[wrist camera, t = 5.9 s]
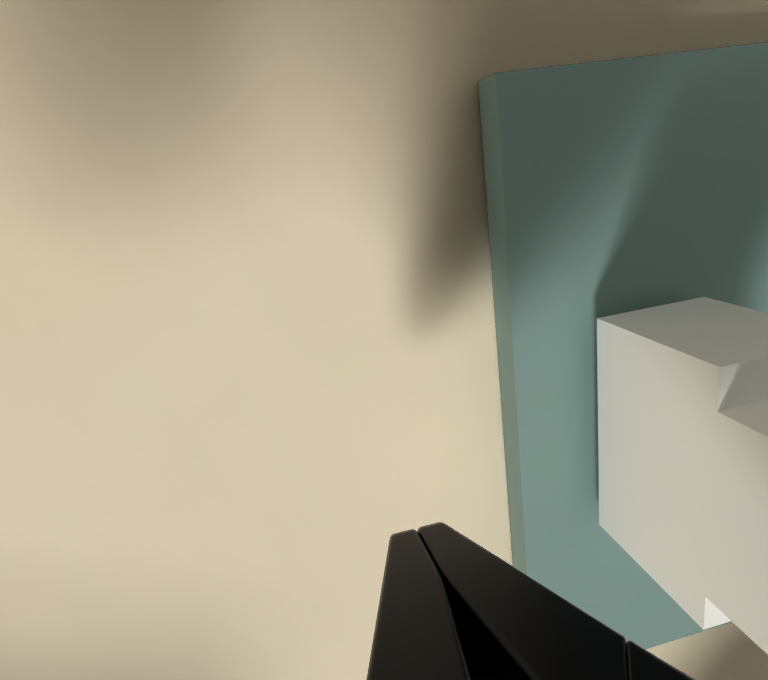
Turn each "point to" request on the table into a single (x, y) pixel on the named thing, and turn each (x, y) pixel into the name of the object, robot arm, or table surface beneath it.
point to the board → (610, 275)
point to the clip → (689, 454)
